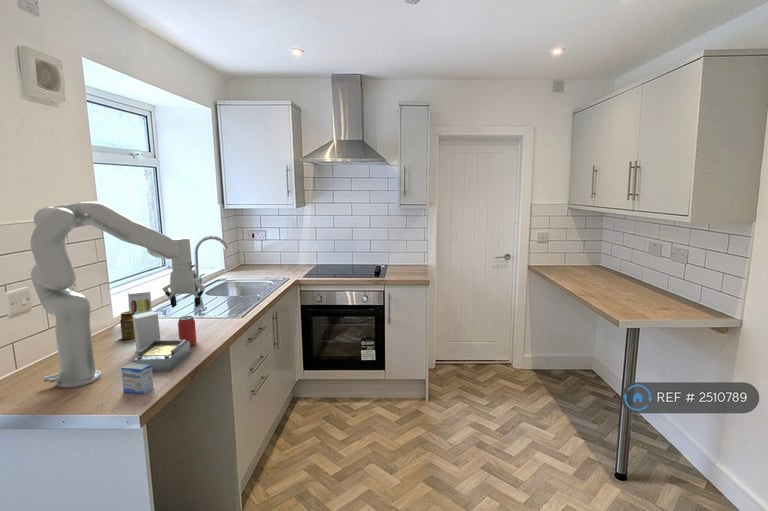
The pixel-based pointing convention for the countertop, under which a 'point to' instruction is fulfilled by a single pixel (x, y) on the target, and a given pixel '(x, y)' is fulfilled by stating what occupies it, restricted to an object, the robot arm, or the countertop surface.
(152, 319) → the skincare box
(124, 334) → the condiment
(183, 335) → the beer can
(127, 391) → the medicine box
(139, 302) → the supplement box
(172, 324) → the countertop surface
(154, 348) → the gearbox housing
